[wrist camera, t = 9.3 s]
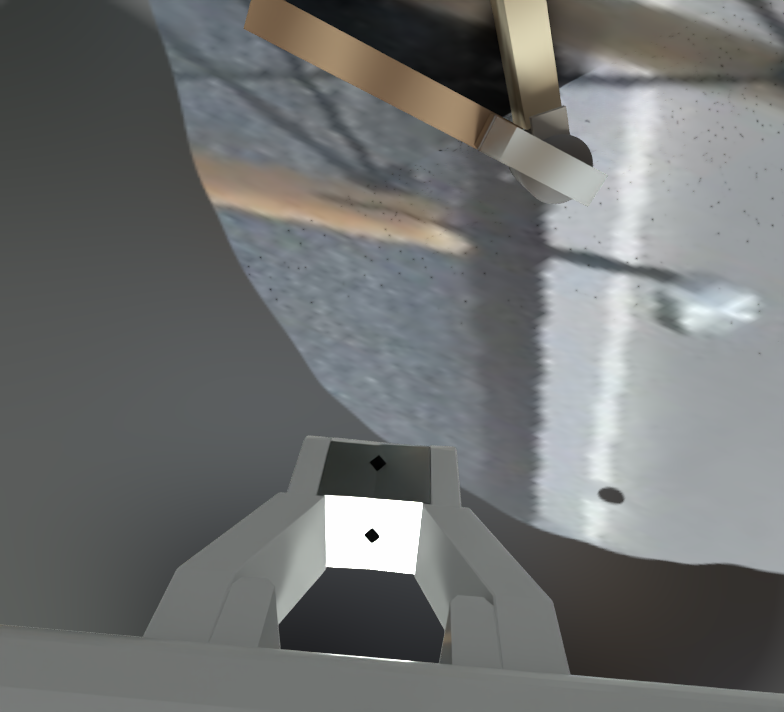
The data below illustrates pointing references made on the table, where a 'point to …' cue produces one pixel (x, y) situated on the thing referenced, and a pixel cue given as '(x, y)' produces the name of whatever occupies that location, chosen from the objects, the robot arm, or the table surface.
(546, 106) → the base
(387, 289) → the table surface
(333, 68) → the tongs jaw
